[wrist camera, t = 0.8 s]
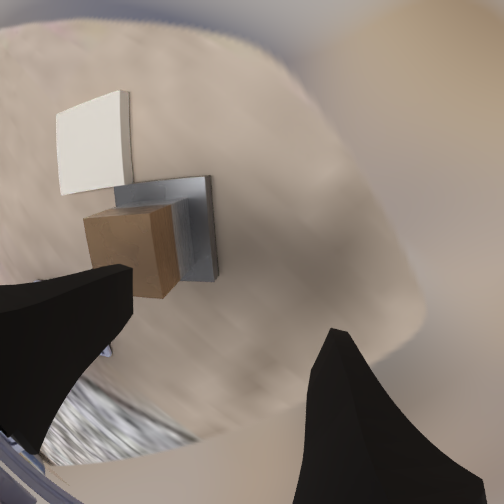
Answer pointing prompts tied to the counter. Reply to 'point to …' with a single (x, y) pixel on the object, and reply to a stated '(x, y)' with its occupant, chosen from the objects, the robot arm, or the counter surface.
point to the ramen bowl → (34, 461)
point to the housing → (144, 243)
